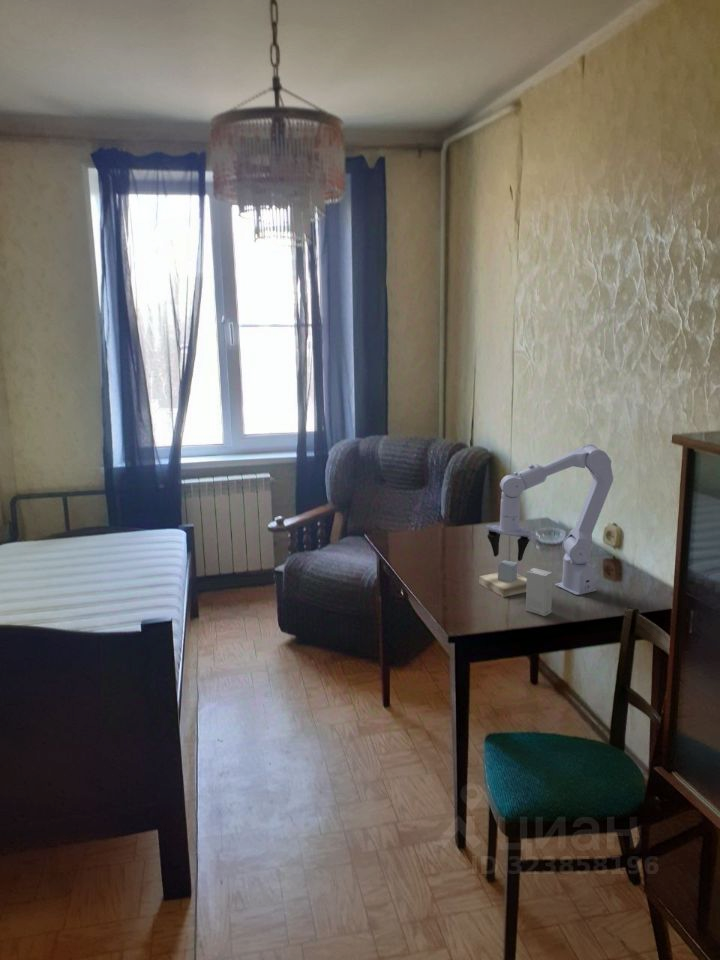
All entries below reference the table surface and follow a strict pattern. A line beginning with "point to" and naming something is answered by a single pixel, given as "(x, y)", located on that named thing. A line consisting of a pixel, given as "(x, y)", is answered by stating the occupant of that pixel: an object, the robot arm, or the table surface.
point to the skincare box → (539, 591)
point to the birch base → (503, 584)
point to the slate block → (507, 571)
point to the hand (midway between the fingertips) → (507, 557)
